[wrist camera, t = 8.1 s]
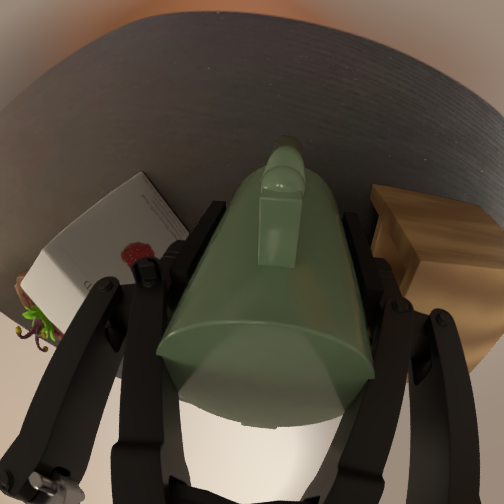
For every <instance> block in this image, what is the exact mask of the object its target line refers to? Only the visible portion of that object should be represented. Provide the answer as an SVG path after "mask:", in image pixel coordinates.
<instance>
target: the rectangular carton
mask: <svg viewBox="0 0 504 504" xmlns="http://www.w3.org/2000/svg"><path fill="white" fill-rule="evenodd" d="M188 235H189V232H188V231H187V229H186V228H185V227H184V226H183V224H182V223H181V222H180V220H179V219H178V218H177V217H176V215H175V214H174V213H173V211H172V210H171V209H170V207H169V206H168V205H167V204H166V202H165V201H164V200H163V198H162V197H161V196H160V194H159V193H158V192H157V190H156V189H155V188H154V186H153V185H152V184H151V182H150V181H149V180H148V178H147V177H146V176H145V174H144V173H143V172H139V173H138V174H137V175H135V176H134V177H132V178H131V179H129V180H128V181H126V182H125V183H123V184H122V185H121V186H119V187H118V188H116V189H115V190H114V191H112V192H111V193H109V194H108V195H107V196H105V197H104V198H103V199H101V200H100V201H99V202H97V203H96V204H95V205H93V206H92V207H91V208H89V209H88V210H87V211H86V212H84V213H83V214H82V215H81V216H79V217H78V218H77V219H76V220H74V221H73V222H72V223H71V224H70V225H68V226H67V227H66V228H65V229H64V230H62V231H61V232H60V233H59V234H58V235H57V236H56V237H55V238H53V239H52V240H51V241H50V242H49V243H48V244H47V245H46V246H45V247H44V248H43V249H42V251H41V253H40V254H39V256H38V257H37V259H36V261H35V262H34V264H33V265H32V267H31V268H30V270H29V271H28V273H27V274H26V276H25V277H24V279H23V280H22V282H21V284H20V285H21V287H22V289H23V290H24V291H25V292H26V293H27V295H28V296H29V297H30V298H31V299H32V300H33V302H34V303H35V304H36V305H37V306H38V307H39V308H40V310H41V311H42V312H43V313H44V314H45V315H46V317H47V318H48V319H49V320H50V321H51V322H52V323H53V324H54V325H55V326H56V327H57V328H58V329H59V330H60V331H61V332H62V333H63V334H65V332H66V330H67V328H68V327H69V325H70V323H71V321H72V320H73V318H74V316H75V314H76V313H77V311H78V309H79V308H80V306H81V304H82V303H83V301H84V300H85V298H86V296H87V295H88V293H89V292H90V290H91V289H92V287H93V285H94V284H95V283H96V282H97V281H98V280H100V279H101V278H104V277H108V276H113V277H116V278H117V279H118V280H119V283H120V285H123V284H133V283H135V280H134V277H133V273H132V270H131V266H132V264H133V263H134V262H135V261H136V260H138V259H140V258H142V257H147V256H154V257H157V258H158V259H161V257H162V256H163V254H164V253H165V252H166V250H167V248H168V247H169V246H170V244H172V243H173V242H175V241H176V240H186V238H187V237H188Z"/></svg>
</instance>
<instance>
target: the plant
mask: <svg viewBox="0 0 504 504" xmlns="http://www.w3.org/2000/svg"><path fill="white" fill-rule="evenodd" d="M28 271H29V270H28ZM28 271H24V272H22V273H21V274H20V275H19V276H18V277H17V284H16V285H15V286H14V287H15V289H16V291H17V294H18V296H19V298H20V300H21V302H22V304H23V305H24V307H25V308H26V309H27V310H28V311H27V312H26V313H23V314H22V315H23V316H24V317H25V318H27V319H34V320H33V322H32V327H31V330H30V331H29V333H27V334H26V335H25V336H22V335H21V332H22V330H21V328H20V327H19V326H18V327H16V333H17V335H18V336H19V337H20V338H21V339H26V338H28V337H30V336H31V335H32V334H34V333H35V341H36V344H37V347H38V348H39V349H40V350H41V351H43V352H47V351H48V347H46V346H44V347H43V349H42V348H41V347H40V346H39V338H48V333H49V334H50V337H51V339H52V340H53V341H54V342H55V340H54V338H55V339H57V340H59V341H61V339H62V337H63V335H64V334H63V333H62V332H61V331H60V330H59V329H58V328H57V327H56V326H55V325H54V324H53V323H52V322H51V321H50V320H49V319H48V318H47V317H46V315H45V314H44V313H43V312H42V311H41V310H40V308H39V307H38V306H37V305H36V304H35V303H34V302H33V300H32V299H31V298H30V297H29V296H28V295H27V293H26V292H25V291H24V290H23V289H22V287H21V285H20V284H21V282H22V280H23V279H24V277H25V276H26V274H27V273H28Z"/></svg>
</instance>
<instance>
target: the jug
mask: <svg viewBox="0 0 504 504" xmlns="http://www.w3.org/2000/svg"><path fill="white" fill-rule="evenodd" d="M156 354H157V355H159V356H162V358H163V360H164V363H165V365H166V367H167V369H168V371H169V374H170V376H171V378H172V380H173V382H174V384H175V386H176V388H177V390H178V395H179V396H181V397H182V398H183V399H185V400H186V401H188V402H189V403H191V404H193V405H195V406H197V407H198V408H201V409H203V410H205V411H207V412H209V413H212V414H214V415H217V416H220V417H223V418H226V419H229V420H233V421H237V422H241V424H242V425H244V426H251V427H259V428H269V429H276V428H277V427H290V426H303V425H309V424H315V423H319V422H323V421H327V420H331V419H333V418H336V417H339V416H341V415H343V414H344V411H345V410H346V409H347V408H348V406H349V405H350V404H351V402H352V401H353V400H354V398H355V397H356V396H357V394H358V393H359V392H360V390H361V389H362V388H363V386H364V385H365V383H366V382H367V380H368V379H374V378H375V370H374V363H373V357H372V350H371V344H370V338H369V332H368V327H367V322H366V316H365V311H364V306H363V302H362V297H361V292H360V288H359V284H358V279H357V275H356V271H355V267H354V263H353V259H352V255H351V251H350V247H349V244H348V240H347V236H346V233H345V229H344V226H343V222H342V219H341V216H340V212H339V209H338V206H337V203H336V200H335V197H334V194H333V192H332V190H331V189H330V187H329V186H328V184H327V183H326V182H325V181H324V180H323V179H322V178H321V177H320V176H319V175H317V174H316V173H314V172H313V171H311V170H309V169H307V168H305V167H304V163H303V154H302V146H301V143H300V141H299V140H298V139H297V138H296V137H295V136H292V135H283V136H281V137H279V138H278V139H277V140H276V142H275V144H274V147H273V149H272V152H271V155H270V157H269V160H268V163H267V165H266V166H265V167H262V168H260V169H258V170H256V171H254V172H253V173H251V174H250V175H249V176H247V177H246V178H245V179H244V180H243V182H242V183H241V184H240V186H239V187H238V189H237V191H236V193H235V194H234V196H233V198H232V200H231V202H230V203H229V205H228V207H227V209H226V211H225V213H224V215H223V216H222V218H221V220H220V222H219V224H218V226H217V228H216V230H215V231H214V233H213V235H212V237H211V239H210V241H209V243H208V245H207V247H206V249H205V251H204V253H203V254H202V256H201V258H200V260H199V262H198V264H197V266H196V268H195V270H194V272H193V274H192V276H191V278H190V280H189V282H188V284H187V286H186V288H185V290H184V292H183V294H182V296H181V298H180V301H179V303H178V305H177V307H176V309H175V311H174V313H173V315H172V317H171V319H170V321H169V324H168V326H167V328H166V330H165V332H164V334H163V336H162V339H161V341H160V343H159V345H158V348H157V350H156Z"/></svg>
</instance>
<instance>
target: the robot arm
mask: <svg viewBox="0 0 504 504" xmlns="http://www.w3.org/2000/svg"><path fill="white" fill-rule="evenodd" d="M225 211H226V201H213V202H212V203H211V205H210V206H209V207H208V209H207V210H206V212H205V213H204V215H203V216H202V218H201V219H200V221H199V222H198V224H197V225H196V227H195V229H194V230H193V232H192V233H191V235H190V236H189V238H188V239H187V240H176V241H175V242H173V243H172V244H170V246H169V247H168V248H167V250H166V252H165V253H164V254H163V256H162V257H161V259H158V258H157V257H154V256H147V257H142V258H140V259H138V260H136V261H135V262H134V263H133V264H132V266H131V270H132V273H133V277H134V280H135V283H133V284H123V285H120V283H119V280H118V279H117V278H116V277H113V276H108V277H104V278H101V279H100V280H98V281H97V282H96V283H95V284H94V285H93V287H92V289H91V290H90V292H89V293H88V295H87V296H86V298H85V300H84V301H83V303H82V304H81V306H80V308H79V309H78V311H77V313H76V314H75V316H74V318H73V320H72V321H71V323H70V325H69V327H68V328H67V330H66V332H65V334H64V335H63V337H62V339H61V341H60V343H59V345H58V347H57V349H56V350H55V353H54V354H53V356H52V358H51V360H50V362H49V364H48V366H47V368H46V370H45V373H44V375H43V377H42V379H41V381H40V384H39V386H38V388H37V390H36V393H35V395H34V397H33V400H32V402H31V404H30V407H29V409H28V412H27V414H26V417H25V420H24V422H23V425H22V428H21V431H20V434H19V435H18V437H17V438H16V439H15V441H14V442H13V443H12V445H11V446H10V448H9V449H8V450H7V452H6V453H5V454H4V456H3V457H2V458H1V460H0V490H1V491H2V492H3V493H4V494H5V495H7V496H9V497H12V498H15V499H18V500H21V501H23V502H24V503H26V504H80V502H81V501H83V500H84V498H85V495H84V492H83V491H82V489H80V487H79V483H80V481H81V480H82V478H83V476H84V474H85V471H86V469H87V466H88V462H89V459H90V456H91V452H92V448H93V445H94V441H95V437H96V434H97V430H98V427H99V424H100V421H101V418H102V414H103V411H104V408H105V405H106V402H107V399H108V396H109V393H110V390H111V388H112V385H113V382H114V379H115V376H116V374H117V371H118V368H119V366H120V363H121V360H122V358H123V355H124V360H123V370H122V381H121V395H120V414H119V440H118V442H117V443H115V444H114V445H113V447H112V449H111V484H112V498H113V504H239V503H236V502H234V501H231V500H229V499H226V498H224V497H221V496H219V495H217V494H214V493H212V492H210V491H207V490H202V489H198V488H194V487H191V483H190V476H189V472H188V468H187V465H186V462H185V458H184V452H183V442H182V433H181V422H180V410H179V396H178V390H177V388H176V386H175V384H174V382H173V380H172V378H171V376H170V374H169V371H168V369H167V367H166V365H165V363H164V360H163V358H162V356H159V355H157V354H156V350H157V348H158V345H159V343H160V341H161V339H162V336H163V334H164V332H165V330H166V328H167V326H168V324H169V321H170V319H171V317H172V315H173V313H174V311H175V309H176V307H177V305H178V303H179V301H180V298H181V296H182V294H183V292H184V290H185V288H186V286H187V284H188V282H189V280H190V278H191V276H192V274H193V272H194V270H195V268H196V266H197V264H198V262H199V260H200V258H201V256H202V254H203V253H204V251H205V249H206V247H207V245H208V243H209V241H210V239H211V237H212V235H213V233H214V231H215V230H216V228H217V226H218V224H219V222H220V220H221V218H222V216H223V215H224V213H225ZM342 222H343V226H344V229H345V233H346V236H347V240H348V244H349V247H350V251H351V255H352V259H353V263H354V267H355V271H356V275H357V279H358V284H359V288H360V292H361V297H362V302H363V306H364V311H365V316H366V322H367V327H368V328H369V331H370V337H369V338H370V344H371V350H372V357H373V363H374V370H375V378H374V379H368V380H367V382H366V383H365V385H364V386H363V388H362V389H361V390H360V392H359V393H358V394H357V396H356V397H355V398H354V400H353V401H352V402H351V404H350V405H349V406H348V408H347V409H346V410H345V411H344V414H343V417H342V419H341V422H340V424H339V427H338V429H337V432H336V434H335V436H334V439H333V441H332V443H331V445H330V448H329V450H328V452H327V454H326V457H325V459H324V461H323V463H322V465H321V467H320V469H319V471H318V473H317V475H316V477H315V478H314V480H313V481H312V482H311V484H310V485H309V487H308V488H307V490H306V491H305V493H304V495H303V496H302V498H301V500H300V501H271V502H263V503H253V504H378V503H379V501H380V499H381V496H382V493H383V490H384V484H385V481H384V479H383V477H382V473H383V469H384V467H385V464H386V461H387V458H388V455H389V452H390V448H391V445H392V441H393V438H394V434H395V431H396V427H397V423H398V419H399V415H400V410H401V405H402V401H403V396H404V391H405V385H406V379H407V373H408V383H409V397H410V425H411V440H410V441H411V442H410V467H409V481H408V490H407V499H406V504H481V501H480V497H479V486H480V453H479V437H478V426H477V417H476V410H475V403H474V397H473V391H472V386H471V381H470V376H469V371H468V367H467V363H466V359H465V355H464V351H463V347H462V344H461V340H460V337H459V333H458V330H457V327H456V324H455V321H454V319H453V317H452V315H451V314H450V313H449V312H447V311H446V310H444V309H441V308H435V309H433V310H432V311H431V313H430V314H429V315H427V314H424V313H421V312H418V311H415V310H414V308H413V305H412V304H411V302H410V301H409V300H408V299H406V298H404V297H402V294H401V292H400V289H399V286H398V284H397V281H396V279H395V276H394V273H393V271H392V268H391V266H390V264H389V263H388V262H387V261H386V260H385V259H384V258H378V257H373V254H372V252H371V249H370V246H369V243H368V241H367V238H366V236H365V233H364V230H363V228H362V225H361V223H360V221H359V218H358V216H357V213H350V212H344V215H343V220H342Z"/></svg>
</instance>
